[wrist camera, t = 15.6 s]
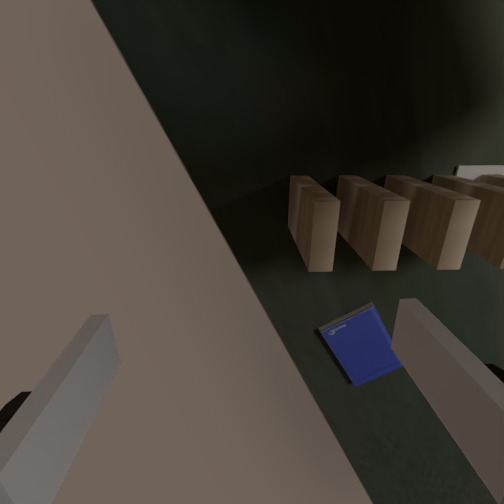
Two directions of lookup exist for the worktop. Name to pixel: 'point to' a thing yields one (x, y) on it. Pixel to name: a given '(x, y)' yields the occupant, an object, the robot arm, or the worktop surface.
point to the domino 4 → (481, 216)
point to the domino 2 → (371, 221)
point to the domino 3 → (435, 220)
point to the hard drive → (361, 344)
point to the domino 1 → (313, 222)
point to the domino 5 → (493, 179)
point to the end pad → (478, 171)
